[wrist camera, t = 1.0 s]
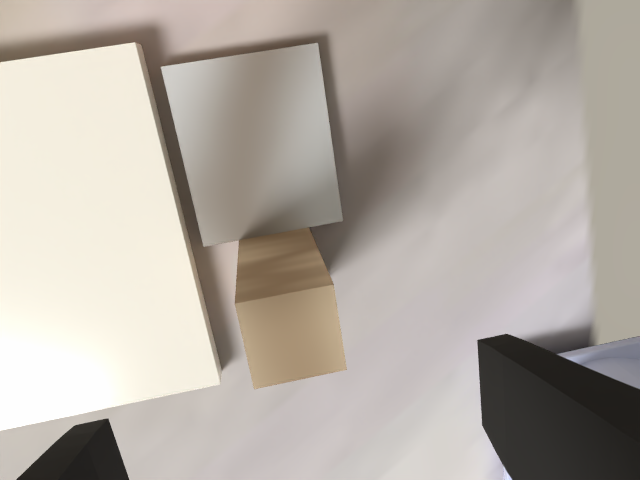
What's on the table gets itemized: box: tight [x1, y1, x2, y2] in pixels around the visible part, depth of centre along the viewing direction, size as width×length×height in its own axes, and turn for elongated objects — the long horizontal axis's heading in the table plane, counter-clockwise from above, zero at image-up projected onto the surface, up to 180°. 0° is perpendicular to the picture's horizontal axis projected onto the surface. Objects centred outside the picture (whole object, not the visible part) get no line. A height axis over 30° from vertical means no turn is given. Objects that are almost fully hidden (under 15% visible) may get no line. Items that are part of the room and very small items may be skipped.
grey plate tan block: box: [161, 43, 347, 389], centre depth 15 cm, size 5×8×6 cm, turn 9°
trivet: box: [0, 42, 222, 430], centre depth 17 cm, size 8×12×1 cm, turn 9°
